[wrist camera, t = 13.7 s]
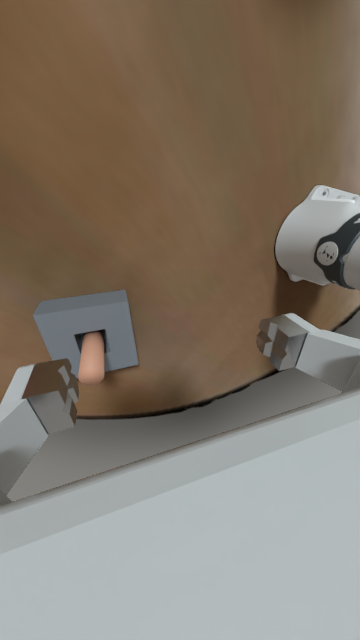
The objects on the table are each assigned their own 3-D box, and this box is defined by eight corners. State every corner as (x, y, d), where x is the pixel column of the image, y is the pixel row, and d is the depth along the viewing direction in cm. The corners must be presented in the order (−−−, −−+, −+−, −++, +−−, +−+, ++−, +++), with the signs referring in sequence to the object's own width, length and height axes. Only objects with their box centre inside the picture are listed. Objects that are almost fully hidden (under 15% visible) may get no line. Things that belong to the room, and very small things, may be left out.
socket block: (125, 289, 40) (127, 301, 35) (135, 349, 47) (138, 364, 43) (40, 301, 36) (32, 315, 32) (65, 363, 44) (61, 381, 39)
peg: (101, 321, 40) (101, 364, 30) (105, 336, 42) (106, 381, 32) (81, 325, 39) (75, 369, 30) (86, 340, 41) (81, 387, 31)
